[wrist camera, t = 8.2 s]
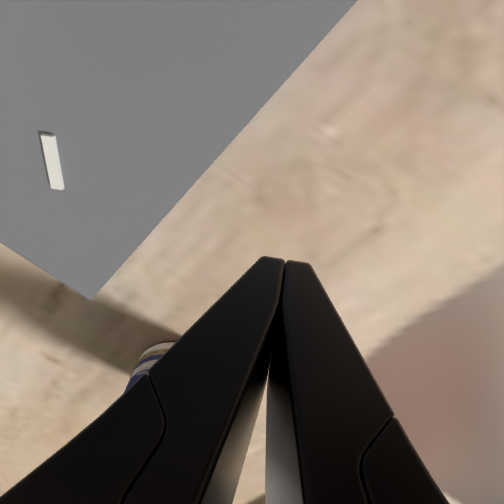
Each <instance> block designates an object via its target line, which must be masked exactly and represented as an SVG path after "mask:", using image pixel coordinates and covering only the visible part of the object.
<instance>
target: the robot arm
mask: <svg viewBox="0 0 504 504" xmlns="http://www.w3.org/2000/svg"><path fill="white" fill-rule="evenodd" d="M269 365H270V366H269ZM268 370H269V374H268ZM267 376H268V382H267V414H266V470H265V504H449V502H448V501H447V499H446V498H445V496H444V495H443V493H442V492H441V490H440V489H439V487H438V486H437V484H436V483H435V481H434V480H433V478H432V477H431V475H430V474H429V472H428V470H427V469H426V467H425V465H424V464H423V462H422V460H421V459H420V457H419V455H418V454H417V452H416V450H415V449H414V447H413V445H412V444H411V442H410V440H409V438H408V437H407V435H406V433H405V431H404V429H403V428H402V426H401V424H400V422H399V420H398V419H397V418H393V417H394V412H393V410H392V408H391V407H390V405H389V403H388V401H387V400H386V398H385V396H384V394H383V392H382V391H381V389H380V387H379V385H378V384H377V382H376V380H375V378H374V376H373V375H372V373H371V371H370V369H369V368H368V366H367V364H366V362H365V360H364V359H363V357H362V355H361V353H360V352H359V350H358V348H357V346H356V345H355V343H354V341H353V339H352V337H351V336H350V334H349V332H348V330H347V329H346V327H345V325H344V323H343V321H342V320H341V318H340V316H339V314H338V313H337V311H336V309H335V307H334V305H333V304H332V302H331V300H330V298H329V297H328V295H327V293H326V291H325V289H324V288H323V286H322V284H321V282H320V281H319V279H318V277H317V275H316V273H315V272H314V270H313V268H312V266H311V265H310V264H309V263H305V262H299V261H293V260H288V261H287V262H286V264H285V261H284V260H283V259H280V258H274V257H267V256H263V257H261V258H260V259H259V260H258V261H257V262H256V263H255V264H254V265H253V266H252V267H251V268H250V269H249V270H248V271H247V272H246V273H245V274H244V275H243V276H242V277H241V278H240V279H239V280H238V281H237V282H236V283H235V284H234V285H233V286H232V287H231V288H230V289H229V290H228V291H227V292H226V293H225V294H224V295H223V296H222V297H221V298H220V299H219V300H218V301H217V302H216V303H215V304H214V305H212V306H211V307H210V308H209V309H208V310H207V311H206V312H205V313H204V314H203V315H202V316H201V317H200V318H199V319H198V320H197V321H196V322H195V323H194V324H193V325H192V326H191V327H190V328H189V329H188V330H187V331H186V332H185V333H184V334H183V335H182V336H181V337H180V338H179V339H178V340H177V341H176V342H175V343H174V344H173V345H172V346H171V347H170V348H169V349H168V350H167V351H166V352H165V353H164V354H163V355H162V356H161V357H160V358H159V359H158V360H157V361H156V362H155V363H154V364H153V365H152V366H151V367H150V368H149V369H148V370H147V374H143V375H142V376H141V377H140V378H139V379H138V380H137V381H136V382H135V383H134V384H133V385H132V386H131V387H130V388H129V389H128V390H127V391H126V392H125V393H124V394H123V395H122V396H121V397H120V398H118V399H117V400H116V401H115V402H114V403H113V404H112V405H111V406H110V407H109V408H108V409H107V410H106V411H105V412H104V413H102V414H101V415H100V416H99V417H98V418H97V419H96V420H95V421H93V422H92V423H91V424H90V425H89V426H87V427H86V428H85V429H84V430H83V431H81V432H80V433H79V434H78V435H77V436H75V437H74V438H73V439H72V440H71V441H69V442H68V443H67V444H66V445H65V446H63V447H62V448H61V449H60V450H58V451H57V452H56V453H55V454H53V455H52V456H51V457H50V458H48V459H47V460H46V461H44V462H43V463H42V464H41V465H39V466H38V467H37V468H36V469H34V470H33V471H32V472H31V473H29V474H28V475H27V476H26V477H24V478H23V479H22V480H21V481H19V482H18V483H17V484H16V485H14V486H13V487H12V488H11V489H9V490H8V491H7V492H6V493H4V494H3V495H2V496H1V497H0V504H232V502H233V499H234V495H235V492H236V488H237V485H238V481H239V478H240V474H241V471H242V467H243V464H244V460H245V457H246V453H247V450H248V446H249V443H250V439H251V436H252V432H253V429H254V425H255V422H256V418H257V415H258V411H259V408H260V404H261V401H262V397H263V394H264V390H265V386H266V381H267Z"/></svg>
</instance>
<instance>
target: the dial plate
mask: <svg viewBox="0 0 504 504" xmlns="http://www.w3.org/2000/svg"><path fill="white" fill-rule="evenodd" d="M356 1H357V0H0V243H2V244H3V245H5V246H6V247H8V248H10V249H11V250H13V251H14V252H16V253H17V254H19V255H20V256H22V257H23V258H25V259H27V260H28V261H30V262H31V263H33V264H34V265H36V266H37V267H39V268H41V269H42V270H44V271H45V272H47V273H48V274H50V275H51V276H53V277H55V278H56V279H58V280H59V281H61V282H62V283H64V284H65V285H67V286H69V287H70V288H72V289H73V290H75V291H76V292H78V293H79V294H81V295H83V296H84V297H86V298H87V299H89V300H91V299H92V298H93V297H94V296H95V295H96V294H97V292H98V291H99V290H100V289H101V288H102V287H103V286H104V285H105V283H106V282H107V281H108V280H109V279H110V278H111V277H112V276H113V274H114V273H115V272H116V271H117V270H118V269H119V268H120V267H121V265H122V264H123V263H124V262H125V261H126V260H127V259H128V258H129V256H130V255H131V254H132V253H133V252H134V251H135V250H136V249H137V247H138V246H139V245H140V244H141V243H142V242H143V241H144V240H145V238H146V237H147V236H148V235H149V234H150V233H151V232H152V231H153V229H154V228H155V227H156V226H157V225H158V224H159V223H160V222H161V220H162V219H163V218H164V217H165V216H166V215H167V214H168V213H169V211H170V210H171V209H172V208H173V207H174V206H175V205H176V204H177V202H178V201H179V200H180V199H181V198H182V197H183V196H184V195H185V194H186V192H187V191H188V190H189V189H190V188H191V187H192V186H193V185H194V183H195V182H196V181H197V180H198V179H199V178H200V177H201V176H202V174H203V173H204V172H205V171H206V170H207V169H208V168H209V167H210V165H211V164H212V163H213V162H214V161H215V160H216V159H217V158H218V156H219V155H220V154H221V153H222V152H223V151H224V150H225V149H226V147H227V146H228V145H229V144H230V143H231V142H232V141H233V140H234V138H235V137H236V136H237V135H238V134H239V133H240V132H241V131H242V129H243V128H244V127H245V126H246V125H247V124H248V123H249V122H250V120H251V119H252V118H253V117H254V116H255V115H256V114H257V113H258V111H259V110H260V109H261V108H262V107H263V106H264V105H265V104H266V102H267V101H268V100H269V99H270V98H271V97H272V96H273V95H274V93H275V92H276V91H277V90H278V89H279V88H280V87H281V86H282V84H283V83H284V82H285V81H286V80H287V79H288V78H289V77H290V76H291V74H292V73H293V72H294V71H295V70H296V69H297V68H298V67H299V65H300V64H301V63H302V62H303V61H304V60H305V59H306V58H307V56H308V55H309V54H310V53H311V52H312V51H313V50H314V49H315V47H316V46H317V45H318V44H319V43H320V42H321V41H322V40H323V38H324V37H325V36H326V35H327V34H328V33H329V32H330V31H331V29H332V28H333V27H334V26H335V25H336V24H337V23H338V22H339V20H340V19H341V18H342V17H343V16H344V15H345V14H346V13H347V11H348V10H349V9H350V8H351V7H352V6H353V5H354V4H355V2H356Z"/></svg>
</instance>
